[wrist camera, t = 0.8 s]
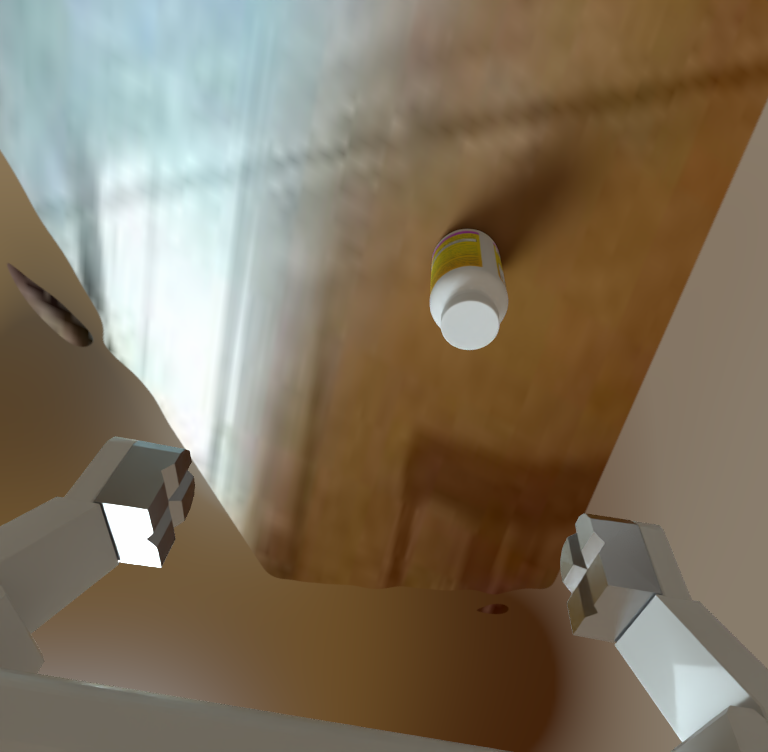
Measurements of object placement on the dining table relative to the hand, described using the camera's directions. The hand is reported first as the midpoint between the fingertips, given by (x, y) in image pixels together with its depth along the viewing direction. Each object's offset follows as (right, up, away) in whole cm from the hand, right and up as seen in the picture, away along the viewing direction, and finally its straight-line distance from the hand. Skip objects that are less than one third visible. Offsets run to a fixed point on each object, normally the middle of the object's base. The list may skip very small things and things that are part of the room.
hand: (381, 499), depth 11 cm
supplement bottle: (+8, +14, +41) cm, 44 cm away
